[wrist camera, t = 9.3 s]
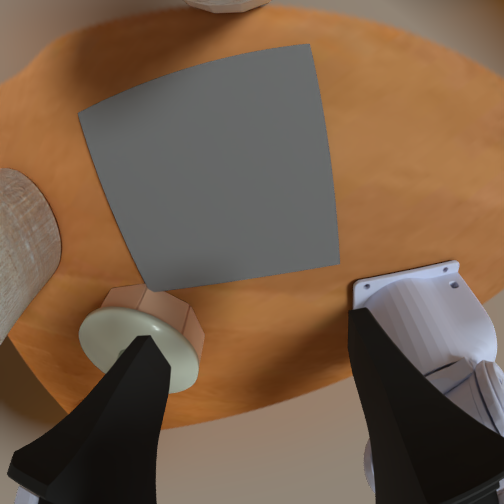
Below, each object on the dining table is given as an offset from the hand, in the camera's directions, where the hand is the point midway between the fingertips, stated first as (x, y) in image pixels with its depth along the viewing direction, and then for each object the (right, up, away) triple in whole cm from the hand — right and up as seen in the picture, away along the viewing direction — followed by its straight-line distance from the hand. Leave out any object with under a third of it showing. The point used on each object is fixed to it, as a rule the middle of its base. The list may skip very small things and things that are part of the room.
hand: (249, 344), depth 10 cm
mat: (-2, +7, +7) cm, 11 cm away
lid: (-9, -5, +11) cm, 15 cm away
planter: (-20, +6, +9) cm, 23 cm away
